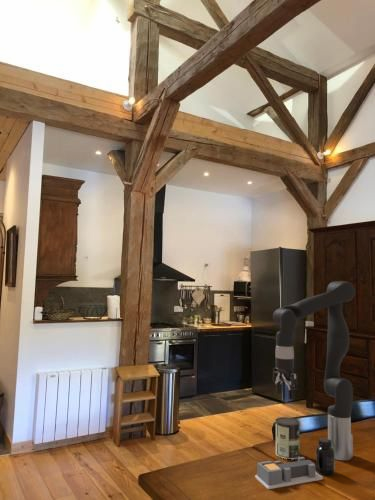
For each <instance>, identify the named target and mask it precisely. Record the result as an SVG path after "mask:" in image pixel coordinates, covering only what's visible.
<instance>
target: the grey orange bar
mask: <svg viewBox="0 0 375 500" xmlns="http://www.w3.org/2000/svg"><path fill="white" fill-rule="evenodd" d="M308 464H315V465H316V463H315V462H313V461H312V460H310V459H305V460H303V461H298V460H297V461H290V462H285V463H284V462H283V463H281V464H277V465H275V464H274V462H272V464H266V465H264V466H265V467H266V468H267V469H268V470H269V471H270V470H274V469H282V480H283V468H290V469H291V478H297V477H303V476H308Z"/></svg>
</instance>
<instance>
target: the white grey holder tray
mask: <svg viewBox="0 0 375 500" xmlns="http://www.w3.org/2000/svg"><path fill="white" fill-rule="evenodd" d="M303 460H306V457H305V456H300V457H298V459H297V461H303ZM273 463H274V464H275V465H277V464H282V461H281V460H274V461H272V460H267V461H261V462H257V463H256V464H257V465H256V468H257V469H256V475H254V478H255V479H256V480H257V481H258V482H259V483H261V485H262V486H264V487H265V488H266V489H267V490H273V489H276V488H282V487H283V488H284V487H289V486H295V485H299V484H305V483H311V482H316V481H322V480H324V477H323V475H321V474H320V473H318V472H317V471H316V463H315V464H308V476H303V477H297V478H291V469H290V468H283V480H282V469H274V470H270V471H269V470H268V469H267V468H266V467H265V466H264V465H266V464H273Z"/></svg>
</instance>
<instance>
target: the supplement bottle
mask: <svg viewBox="0 0 375 500" xmlns="http://www.w3.org/2000/svg"><path fill="white" fill-rule="evenodd" d="M331 446H332V444H331V440H329V439H328V438H326V437H325V438H324V437H321V438H319V439H318V446H316V448H315V452H316V453H315V455H316V456H315V457H316V460H315V461H316V463H315V469H316V473H318V474H319V475H321V476H327V477H328V476H329V477H330V476H331V477H332V476H333V475H335V472H336V469H335V467H336V465H335V462H336V461H335V460H336V459H335V457H334V449H333V448H332V447H331Z"/></svg>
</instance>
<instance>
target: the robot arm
mask: <svg viewBox="0 0 375 500" xmlns="http://www.w3.org/2000/svg"><path fill="white" fill-rule="evenodd" d="M326 287H327V288H326V292H324V293H320V294H317V295H313V296H309V297H306V298H303V299H302V300H300V301H297V302H295V303H292V304H288V305H284V306H281V307H279V308H277V309H276V310H274V312H273V314H272V320H273V322H274V323H275V324H277V325H278V326H280V330H279V331H277V332H276V334H275V352H274V353H275V367H273V368H272V382H273V383H274V384H275V392H276V394H277V395H281V394H282V389H283V388H282V387H283V386H282V383H283V382H284V383H285V385H286V386H287V388H288V399H289V400H294V399H295V390H298V389H299V380H298V379H299V376H298V373H293V370H294V368H295V350H294V334H295V333H294V332H295V330H296V326H297V319H303V318H306V317H308V316H310V315H312V314H315V313H318V312H319V311H322V310H325V308H327V331H326V332H327V334H326V336H327V337H326V346H327V347H326V360H325V361H326V362H325V363H326V364H325V372H324V379H323V388H324V389H323V390H324V392H325V394H327V395H328V396H329V397H331V398H334V401H335V403H334V404H332V405H329V406H328V407H327V439H329V440H331V444H332V446H331V447H332V448H333V449H334V457H335V460H336V461H337V460H338V461H344V462H345V461H350V460H351V459H353V458H354V442H353V441H354V438H353V436H354V435H353V434H352V433H351V431H352V429H351V427H352V425H351V423H352V421H351V419H352V418H351V413H352V411H353V403H354V402H353V399H354V388H353V385H352V382H351V381H350V380H349V379H347V378H344V377H341V376H340V375H341V374H340V372H341V371H340V370H341V369H340V368H341V365H342V361H343V359H344V358H345V356H346V355H347V352H348V351H349V348H350V330H349V327H348V324H347V322H346V319H345V317H344V313H343V303H347V302H350V301H352V300H353V298H355V296H356V288H355V286H354V284H353V283H351V282H349V281H344V280H343V281H339V280H337V281H336V280H335V281H331V282H329V284H328V285H327V286H326Z"/></svg>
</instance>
